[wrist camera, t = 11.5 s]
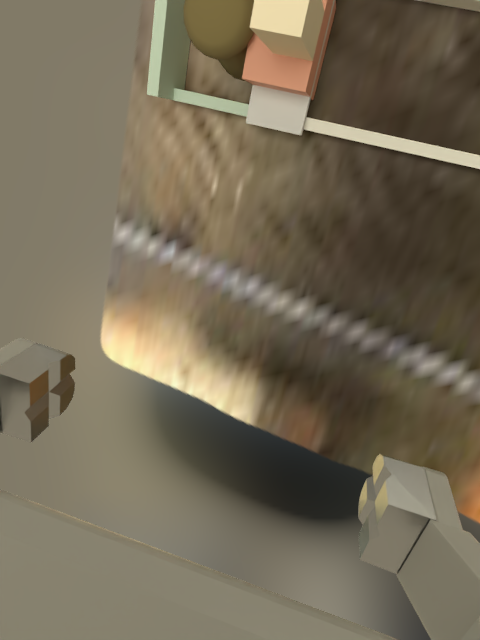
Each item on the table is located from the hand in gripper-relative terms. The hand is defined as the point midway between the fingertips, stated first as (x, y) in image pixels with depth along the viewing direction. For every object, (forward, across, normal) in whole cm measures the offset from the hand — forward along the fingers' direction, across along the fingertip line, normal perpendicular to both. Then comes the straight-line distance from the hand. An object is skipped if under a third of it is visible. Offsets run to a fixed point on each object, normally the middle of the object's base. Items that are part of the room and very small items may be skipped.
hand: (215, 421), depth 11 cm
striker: (+35, +5, -13) cm, 37 cm away
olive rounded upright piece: (+35, +10, -13) cm, 39 cm away
